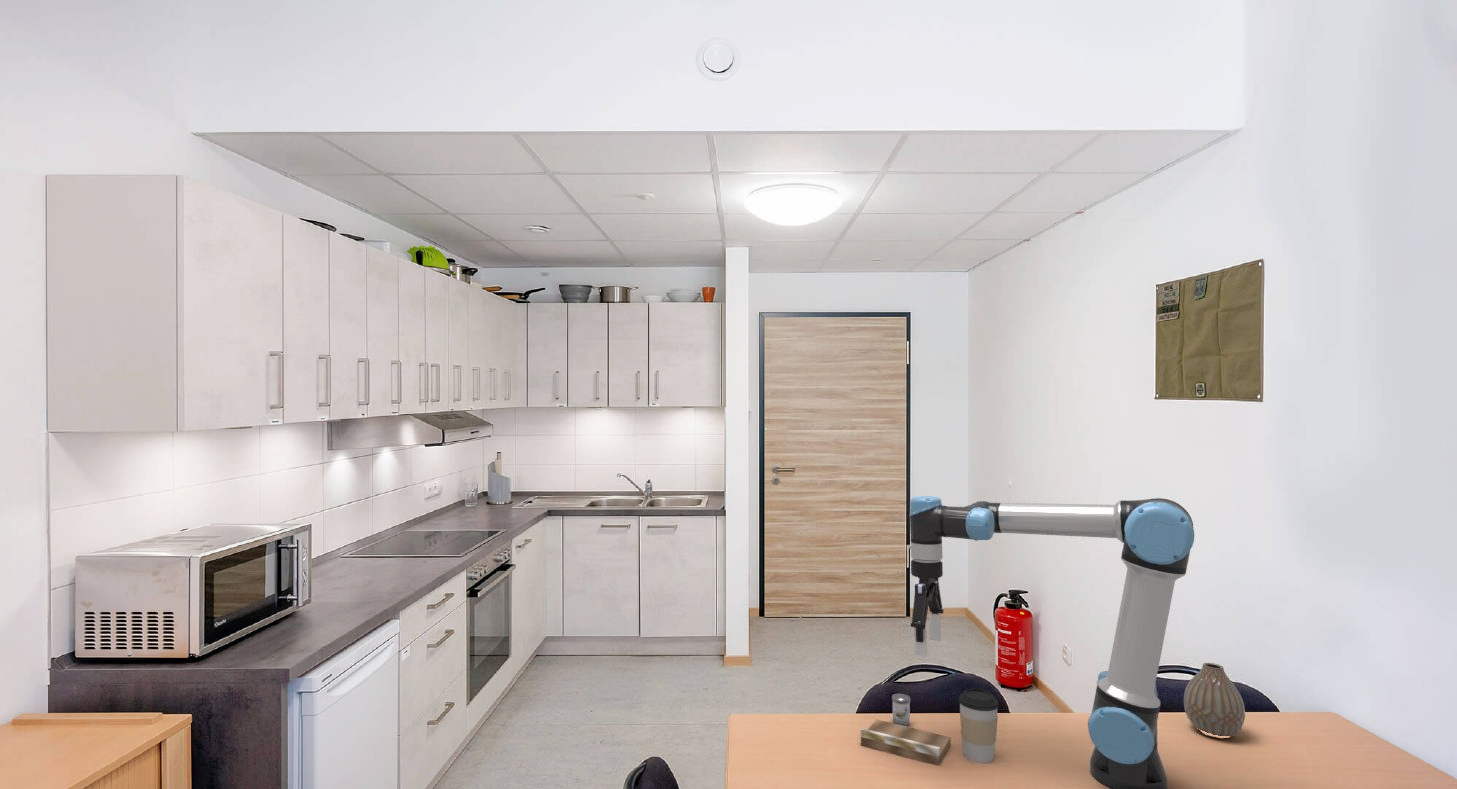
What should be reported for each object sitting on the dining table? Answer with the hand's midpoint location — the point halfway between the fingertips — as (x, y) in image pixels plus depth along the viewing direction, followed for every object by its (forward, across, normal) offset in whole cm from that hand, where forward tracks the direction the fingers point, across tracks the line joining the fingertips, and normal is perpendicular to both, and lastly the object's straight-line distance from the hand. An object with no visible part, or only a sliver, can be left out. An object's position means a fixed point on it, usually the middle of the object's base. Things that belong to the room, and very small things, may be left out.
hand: (928, 647), depth 169 cm
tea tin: (+25, -11, -10) cm, 29 cm away
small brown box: (+25, 0, -6) cm, 26 cm away
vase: (+26, -49, +61) cm, 83 cm away
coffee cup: (+25, -4, +10) cm, 28 cm away
